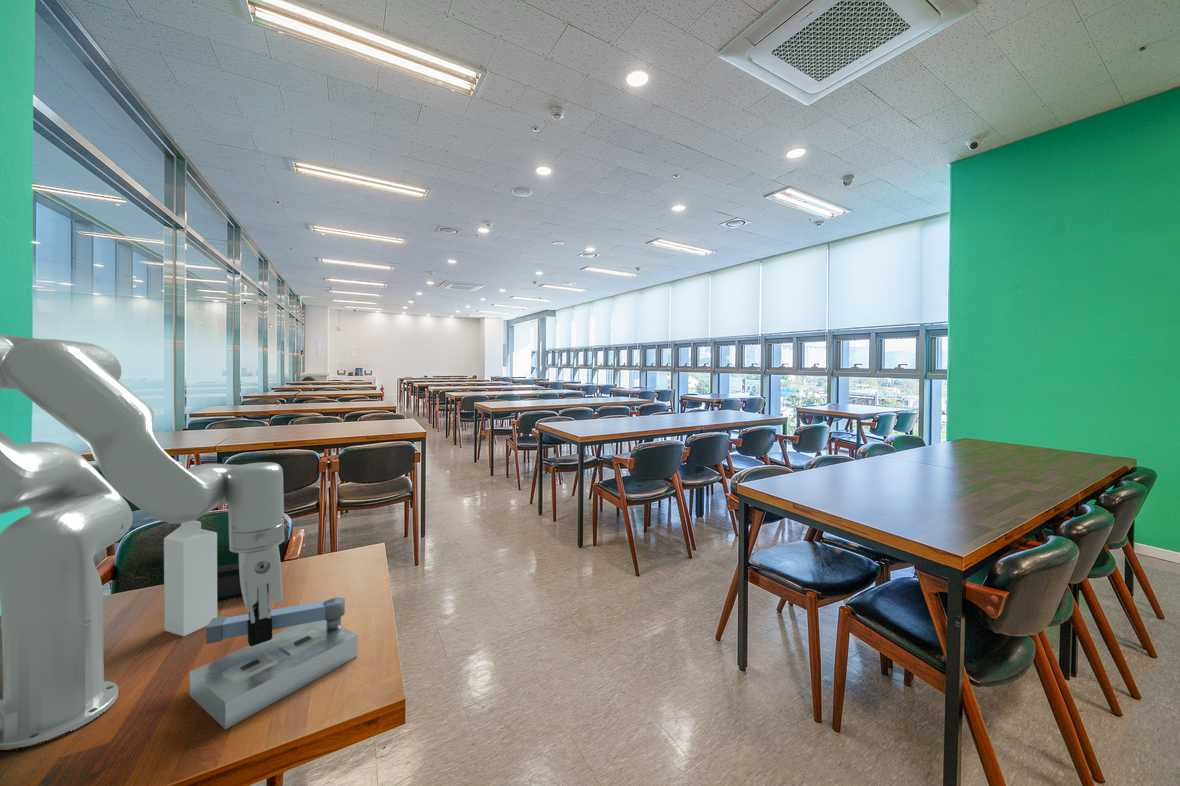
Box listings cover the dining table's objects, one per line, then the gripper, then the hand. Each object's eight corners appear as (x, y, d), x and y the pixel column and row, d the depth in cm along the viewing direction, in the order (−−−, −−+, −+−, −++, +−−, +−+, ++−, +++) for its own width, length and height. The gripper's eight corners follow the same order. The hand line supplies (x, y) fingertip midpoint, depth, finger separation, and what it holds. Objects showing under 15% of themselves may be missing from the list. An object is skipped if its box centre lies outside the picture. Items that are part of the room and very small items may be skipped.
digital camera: (210, 605, 98) (210, 575, 98) (215, 595, 102) (215, 565, 102) (267, 595, 103) (267, 565, 103) (270, 585, 108) (270, 557, 108)
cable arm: (345, 609, 85) (345, 595, 85) (343, 618, 82) (344, 603, 82) (213, 633, 76) (213, 617, 76) (205, 644, 73) (205, 628, 73)
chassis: (225, 729, 64) (225, 687, 63) (189, 695, 70) (189, 658, 70) (358, 655, 81) (358, 622, 81) (320, 634, 88) (320, 603, 87)
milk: (198, 616, 93) (198, 514, 93) (217, 621, 91) (218, 517, 91) (163, 631, 88) (163, 522, 87) (183, 637, 86) (183, 526, 85)
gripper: (292, 542, 72) (295, 651, 72) (276, 520, 82) (278, 615, 83) (234, 555, 66) (237, 672, 67) (225, 530, 77) (228, 631, 78)
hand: (260, 640), depth 75 cm, fingers closed
